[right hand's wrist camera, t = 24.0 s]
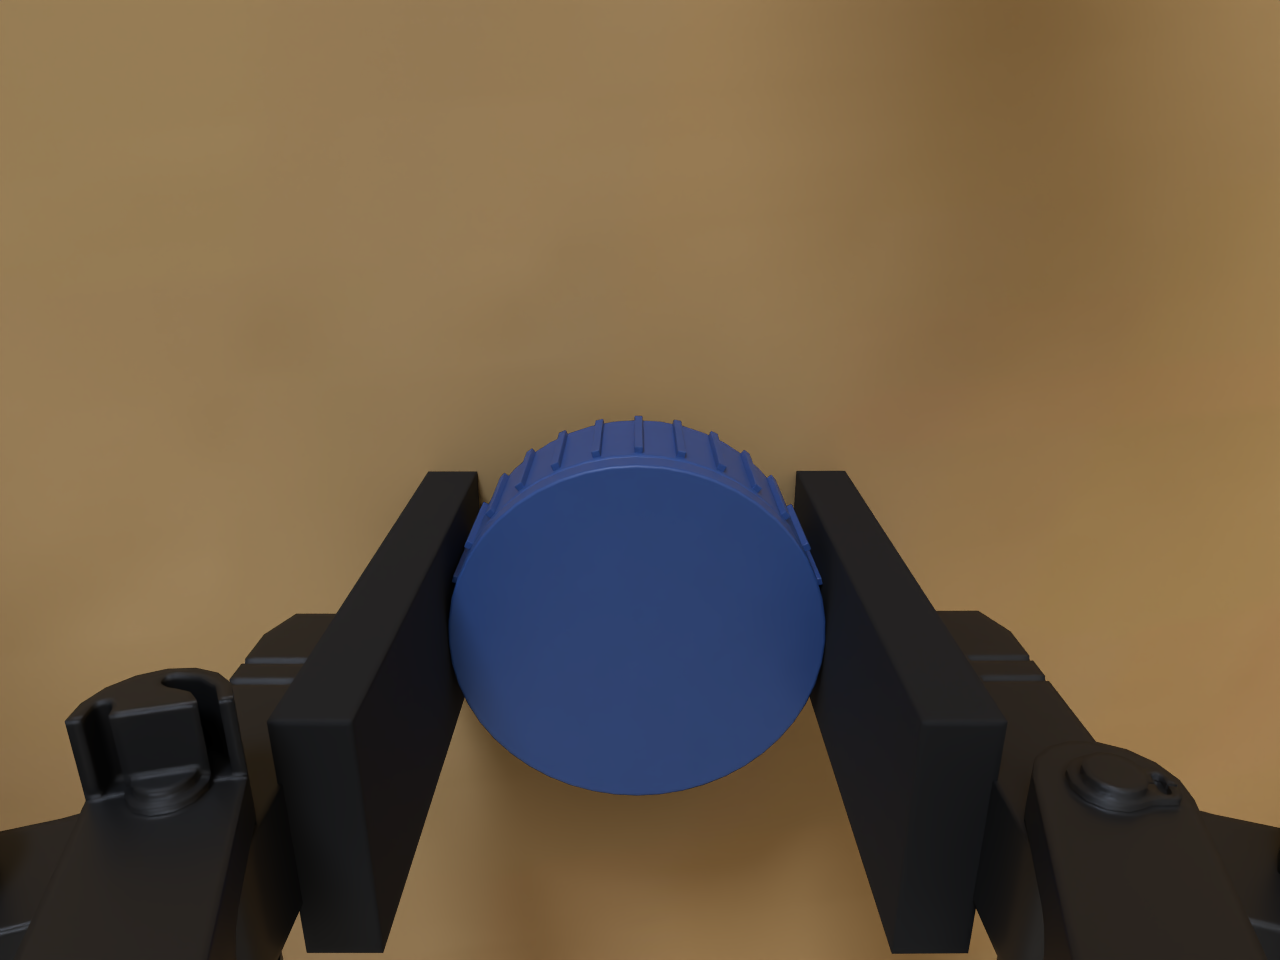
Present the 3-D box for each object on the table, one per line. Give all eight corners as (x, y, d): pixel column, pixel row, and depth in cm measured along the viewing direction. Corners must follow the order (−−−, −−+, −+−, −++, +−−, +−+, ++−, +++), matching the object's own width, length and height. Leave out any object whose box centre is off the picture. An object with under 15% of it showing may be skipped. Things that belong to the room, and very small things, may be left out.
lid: (766, 373, 12) (788, 413, 11) (834, 677, 14) (863, 757, 12) (420, 463, 13) (384, 516, 11) (527, 747, 15) (512, 834, 13)
